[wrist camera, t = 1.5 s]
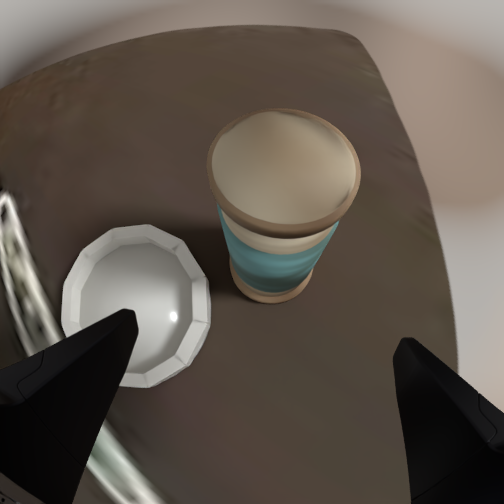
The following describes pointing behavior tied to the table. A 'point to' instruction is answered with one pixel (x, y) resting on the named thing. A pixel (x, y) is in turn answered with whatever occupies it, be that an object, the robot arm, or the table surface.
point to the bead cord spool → (280, 196)
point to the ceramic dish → (142, 298)
